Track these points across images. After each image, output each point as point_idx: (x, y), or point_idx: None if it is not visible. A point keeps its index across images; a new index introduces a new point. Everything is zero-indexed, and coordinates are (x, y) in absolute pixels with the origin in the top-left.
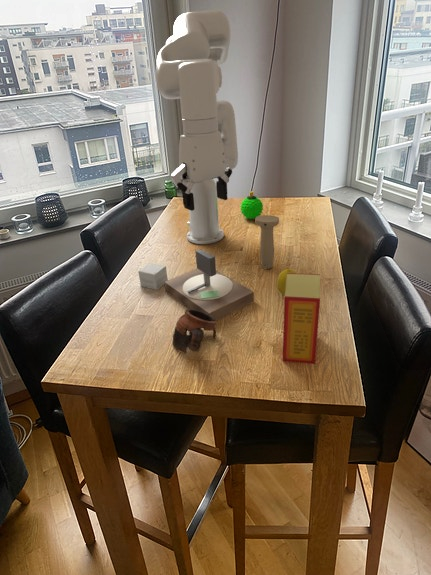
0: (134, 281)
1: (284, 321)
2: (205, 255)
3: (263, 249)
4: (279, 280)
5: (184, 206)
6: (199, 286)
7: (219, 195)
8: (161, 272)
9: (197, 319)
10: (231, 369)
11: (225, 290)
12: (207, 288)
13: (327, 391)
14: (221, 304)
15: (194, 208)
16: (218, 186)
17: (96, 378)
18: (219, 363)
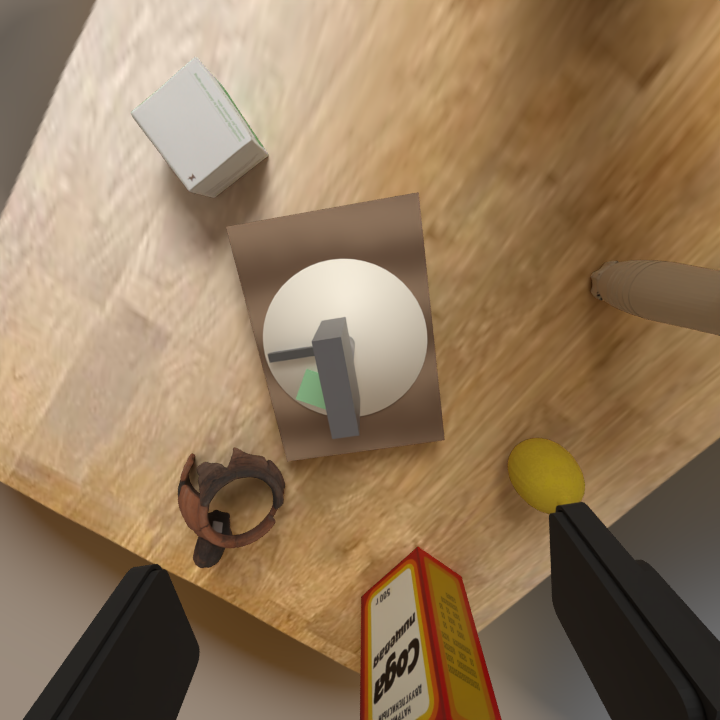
0: (149, 77)
1: (361, 702)
2: (330, 405)
3: (637, 305)
4: (521, 482)
5: (128, 576)
6: (312, 352)
7: (567, 566)
8: (227, 166)
9: (217, 545)
10: (268, 572)
11: (378, 396)
12: None
13: None
14: (334, 444)
15: (197, 663)
16: (638, 676)
17: (15, 475)
18: (255, 551)
